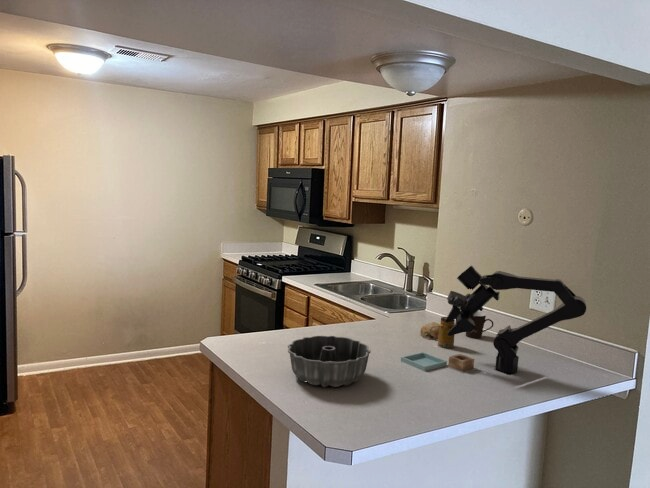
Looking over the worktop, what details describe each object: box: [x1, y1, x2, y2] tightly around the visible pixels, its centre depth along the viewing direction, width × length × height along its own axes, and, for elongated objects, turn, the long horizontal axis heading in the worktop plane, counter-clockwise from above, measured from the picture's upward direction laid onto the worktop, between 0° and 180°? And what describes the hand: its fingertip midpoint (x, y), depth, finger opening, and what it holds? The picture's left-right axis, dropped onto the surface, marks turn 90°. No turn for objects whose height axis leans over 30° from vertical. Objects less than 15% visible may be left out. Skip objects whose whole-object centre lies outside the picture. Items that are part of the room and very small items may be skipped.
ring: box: [447, 353, 475, 372], centre depth 180 cm, size 6×6×4 cm
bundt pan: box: [287, 335, 371, 388], centre depth 166 cm, size 26×26×10 cm
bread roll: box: [419, 321, 440, 341], centre depth 218 cm, size 10×10×8 cm
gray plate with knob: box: [444, 364, 478, 374], centre depth 180 cm, size 8×8×3 cm
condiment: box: [432, 316, 456, 350], centre depth 202 cm, size 7×8×12 cm
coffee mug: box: [465, 311, 494, 340], centre depth 219 cm, size 12×9×10 cm
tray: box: [400, 351, 448, 372], centre depth 183 cm, size 11×11×2 cm
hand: (447, 328), depth 187 cm, fingers open, 9 cm apart
